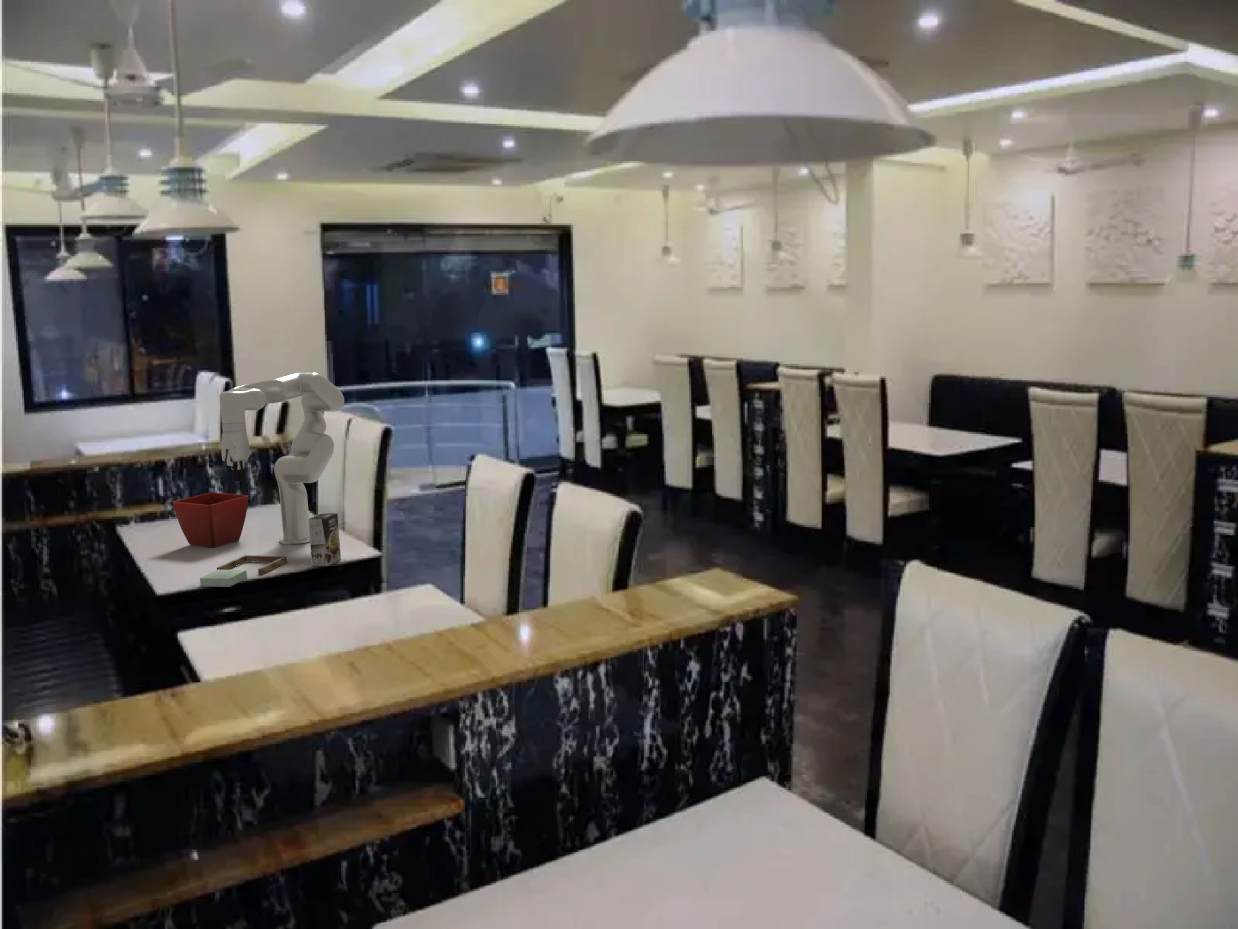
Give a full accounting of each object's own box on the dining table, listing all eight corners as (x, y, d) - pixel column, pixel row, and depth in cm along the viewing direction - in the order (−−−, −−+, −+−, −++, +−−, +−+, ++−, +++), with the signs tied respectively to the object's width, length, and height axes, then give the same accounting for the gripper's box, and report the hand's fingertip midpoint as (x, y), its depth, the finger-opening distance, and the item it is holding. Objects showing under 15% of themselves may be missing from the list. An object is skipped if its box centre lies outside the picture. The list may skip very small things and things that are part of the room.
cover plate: (218, 578, 323) (217, 569, 323) (247, 579, 321) (246, 570, 321) (200, 587, 313) (199, 578, 313) (229, 588, 312) (228, 578, 311)
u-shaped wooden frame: (245, 560, 343) (244, 555, 342) (287, 562, 339) (287, 556, 339) (217, 573, 327) (216, 567, 327) (261, 575, 324) (260, 569, 324)
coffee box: (329, 566, 332) (325, 518, 330) (311, 565, 334) (307, 518, 331) (341, 559, 341) (338, 512, 338) (324, 558, 342) (320, 512, 340)
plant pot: (253, 539, 375) (249, 494, 372) (214, 551, 358) (209, 504, 355) (216, 535, 383) (211, 492, 380) (175, 547, 366) (170, 501, 363)
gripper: (237, 424, 348) (242, 476, 351) (211, 430, 333) (216, 484, 336) (256, 424, 346) (261, 477, 349) (231, 430, 332) (236, 485, 335)
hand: (239, 480), depth 343 cm, fingers closed
